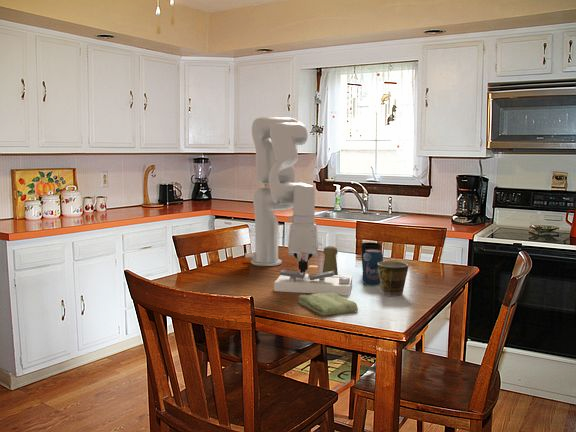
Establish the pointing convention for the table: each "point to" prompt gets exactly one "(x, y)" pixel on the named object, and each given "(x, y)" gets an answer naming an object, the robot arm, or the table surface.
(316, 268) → the fader knob
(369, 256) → the soda can
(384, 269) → the ceramic cup
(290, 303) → the table surface
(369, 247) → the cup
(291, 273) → the rocker left
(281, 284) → the panel
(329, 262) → the brown upright piece
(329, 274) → the rocker right
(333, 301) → the washcloth
